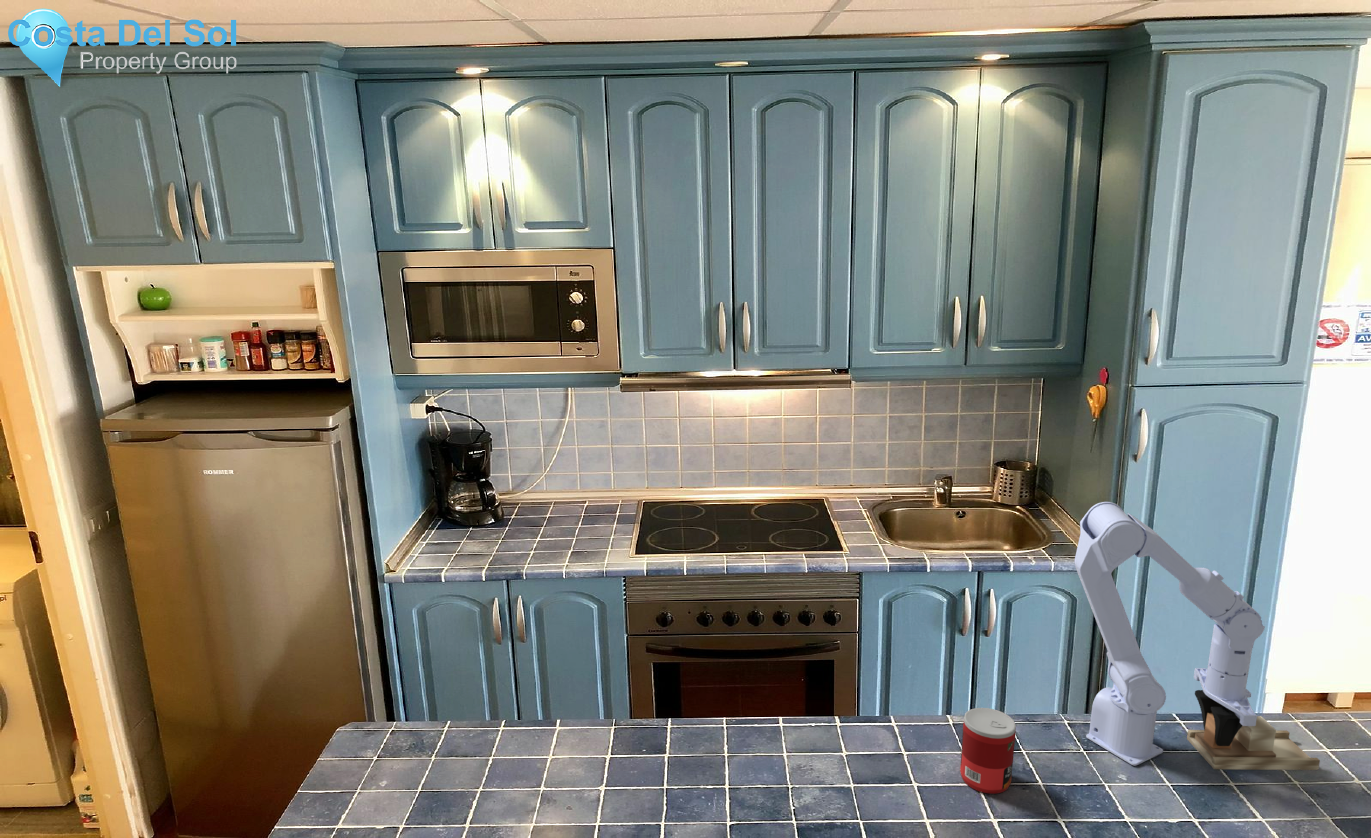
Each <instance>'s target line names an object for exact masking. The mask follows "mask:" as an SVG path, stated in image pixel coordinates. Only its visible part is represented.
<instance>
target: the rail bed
mask: <svg viewBox="0 0 1371 838" xmlns="http://www.w3.org/2000/svg"><path fill="white" fill-rule="evenodd" d="M1204 732H1205V731H1204V729H1188V730H1187V736H1186V740H1187V741H1188V742H1189V743H1190V744H1191V746H1193V748H1194V749H1195V750H1197V752H1198V753H1199V754H1200V755H1201V756H1202V758H1203V759H1204V760H1205V761H1206V762H1207V763H1208V764H1209V765H1210V766H1211V768H1212V769H1213V770H1251V771H1252V770H1253V771H1254V770H1258V771H1259V770H1261V771H1262V770H1264V771H1265V770H1266V771H1267V770H1269V771H1270V770H1271V771H1274V770H1275V771H1276V770H1277V771H1286V770H1289V771H1318V770H1319V768H1320V762H1321V760H1320V759H1319V758H1318V757H1310V756H1309V755H1308V754H1307V753H1306V752H1304V751H1305V750H1303V749H1302V748H1300V746H1298V745H1297V744H1296V743H1295V742H1294V741H1293V740H1292V739H1290V731H1288V730H1287V729H1286V730H1285V729H1284V730H1283V729H1282V730H1277V729H1276V734H1275V740H1274V745H1273V752H1274V753H1275V754H1276V757H1212V756H1211V755H1210V754H1209V753H1208V752H1207V751H1206V750H1205V749H1204V748H1203V746H1202V745H1201V744H1200V743H1199V742H1198V741H1197V740H1196V739H1195V733H1204Z"/></svg>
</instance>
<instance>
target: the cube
mask: <svg viewBox="0 0 1371 838" xmlns="http://www.w3.org/2000/svg"><path fill="white" fill-rule="evenodd" d="M1276 730H1277V729H1276V728H1275V727H1273V725H1272V724H1270V722H1268V721H1267V720H1266V719H1265V718H1264V717H1262V716H1261V715H1257V720H1256V726H1242V727H1241V728H1240V729H1239V731H1238V732H1237V734H1236V735H1235V738H1236V739H1237V740H1238V741H1239V742H1240V743H1241V744H1242V745H1243V746H1244V747H1245V748H1246V749H1247V750H1248V751H1273V745H1274V740H1275V734H1276Z"/></svg>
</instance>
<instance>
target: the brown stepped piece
mask: <svg viewBox="0 0 1371 838" xmlns="http://www.w3.org/2000/svg"><path fill="white" fill-rule="evenodd" d="M1195 739H1196V740H1197V741H1198V742H1199V743H1200V744H1201V745H1202V746H1203V748H1204V749H1205V750H1206V751H1207V752H1208V753H1209V754H1210V755H1211V756H1212V757H1276V754H1275V753H1274V752H1273V751H1248V750H1247V749H1246V748H1245V747H1244V746H1243V745H1242V744H1241V743H1240V742H1239V741H1238V740H1237V739H1236V738H1235V737H1234V739H1233V741H1232V743H1231V744H1230V746H1218V745H1217V744H1216V742H1215V721H1214V716H1213V713H1207V719H1206V725H1205V732H1204V733H1195Z"/></svg>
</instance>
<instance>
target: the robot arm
mask: <svg viewBox="0 0 1371 838" xmlns="http://www.w3.org/2000/svg"><path fill="white" fill-rule="evenodd" d="M1079 527H1080V535H1079V538H1078V544H1077V548H1076V553H1075V556H1074V567H1075V569H1076V572H1077V575H1078V577H1079V579H1080V583H1081V585H1082V588H1083V591H1084V592H1085V596H1086V598H1087V600H1088V603H1089V607H1090V608H1091V611H1092V614H1093V616H1094V618H1095V622H1096V624H1097V626H1098V630H1099V632H1100V634H1101V637H1102V639H1103V642H1104V645H1105V647H1106V650H1107V652H1106V656H1107V659H1108V665H1107V666H1108V667H1107V674H1108V677H1109V678H1110V680H1111V682H1112V683H1113V684H1112V687H1104V688H1102V689H1101V690H1100V691H1098V693H1097V694H1096V695H1095V697H1094V700H1093V702H1092V706H1091V713H1090V714H1091V715H1090V722H1089V723H1090V724H1089V733H1087V734H1086V735H1085V737H1086V739H1088V740H1090V741H1091V742H1093V743H1095V744H1096V745H1099V747H1101V748H1103V749H1105V750H1106V751H1108V752H1110V753H1112V755H1115V756H1116V757H1118V758H1120V759H1121V760H1122V761H1125V762H1126V763H1128V764H1129V765H1131V766H1133V767H1134V766H1135V767H1136V766H1138V765H1140V764H1143V763H1144V762H1146V761H1148V760H1150V759H1152V758H1155V757H1157V756H1160V755H1161V754H1163V753H1164V749H1163V748H1161V747H1160V746H1158V745H1156V744H1155V743H1154V735H1155V729H1156V728H1155V727H1156V720H1157V714H1158V711H1159V710H1161V709H1162V708H1163V706H1164V705H1165V703H1166V699H1167V695H1166V690H1165V689H1164V687H1163V686H1162V685H1161V684H1160V683H1159V682H1158V681H1157V679H1156V678H1155V677H1154V675H1153V674H1152V671H1151V669H1150V667H1149V665H1148V664H1147V661H1146V660H1145V658H1144V656H1143V655H1142V652H1141V649H1140V647H1139V644H1138V642H1137V639H1136V636H1135V634H1134V631H1133V629H1132V625H1131V622H1130V621H1129V617H1128V615H1127V612H1126V609H1125V607H1124V604H1123V602H1122V599H1121V597H1120V593H1119V591H1118V588H1117V585H1116V584H1115V580H1114V579H1113V576H1112V573H1113V571H1114V570H1115V569H1116V568H1117V567H1119V566H1120V565H1122V564H1123V563H1124V562H1126V561H1128V559H1130V558H1131V557H1132V556H1134V555H1135V557H1136V558H1144V557H1150V558H1151V559H1152V560H1154V561H1155V562H1156V563H1157V564H1159V565H1160V566H1161V567H1162V568H1163V569H1165V571H1167V572H1168V573H1169V574H1171V575H1172V576H1173V577H1174V578H1176V579H1177V580H1178V581H1179V583H1178V585H1179V586H1178V590H1179V592H1180V593H1181V594H1182V595H1183V596H1184V597H1185V598H1186V599H1187V600H1188V601H1190V602H1191V603H1192V604H1193V605H1194V606H1195V607H1196V608H1197V609H1199V610H1200V611H1201V612H1203V614H1205V616H1207V617H1208V618H1209V619H1210V620H1212V621H1214V622H1215V623H1214V624H1213V630H1212V636H1211V637H1212V638H1211V641H1210V642H1211V643H1210V648H1209V656H1208V657H1209V658H1208V663H1207V668H1206V667H1204V668H1202V667H1195V668H1194V671H1193V672H1194V673H1193V679H1194V680H1195V681H1198V682H1200V686H1201V688H1202V689H1198V690H1195V691H1194V696H1195V698H1196V700H1197V702H1198V705H1199V708H1200V712H1201V718H1202V724H1203V730H1204V731H1205V725H1206V719H1207V713H1213V716H1214V721H1215V742H1216V744H1217V745H1218V746H1230V744H1231V743H1232V741H1233V739H1234V737H1235V735H1236V734H1237V732H1238V731H1239V729H1240V728H1241V727H1242V726H1256V720H1257V716H1258V715H1257V714H1256V713H1255V712H1254V710H1253V709H1252V706H1251V704H1250V701H1249V699H1250V698H1251V697H1252V692H1250V691H1249V690H1248V689H1247V685H1248V684H1247V683H1248V677H1249V673H1250V672H1249V671H1250V666H1251V659H1252V653H1253V652H1252V651H1253V649H1254V644H1255V642H1256V640H1257V639H1258V638H1260V637H1261V635H1262V634H1263V633H1264V630H1265V627H1266V626H1265V625H1263V620H1262V617H1261V614H1260V613H1258V612H1257V610H1255V609H1254V608H1253V606H1251V605H1250V604H1249V603H1247V601H1246V600H1244V597H1245V596H1244V595H1243V594H1242V593H1240V592H1239V591H1238V590H1235V591H1234V590H1232V589H1231V588H1230V587H1229V586H1228V585H1227V584H1225V582H1223V580H1224V577H1223V576H1222V575H1221V574H1220V573H1219V572H1218V571H1217V570H1216V569H1215V570H1212V571H1211V570H1210V569H1209V568H1206V567H1194V566H1192V565H1191V564H1190V563H1189V562H1188V561H1187V560H1186V559H1185V558H1183V556H1181V555H1180V554H1179V553H1178V552H1177V551H1176V549H1174V548H1173V547H1172V546H1170V544H1168V542H1166V540H1164V539H1163V538H1162V537H1161V536H1160V535H1159V534H1158V533H1157V532H1155V530H1154V529H1152V527H1150V526H1149V525H1147V524H1146V523H1144V522H1142V521H1141V520H1139V519H1138V518H1136V517H1135V516H1134V515H1132V514H1130V512H1127V513H1125V510H1123V509H1122V507H1121V506H1119V504H1117V503H1114V502H1112V501H1100V502H1098V503H1095V504H1094V505H1093V506H1091V507H1090V508H1089V509H1088V511H1087V512H1086V513H1085V514H1084V516H1083V517H1082V519H1081V520H1080V521H1079Z"/></svg>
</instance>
